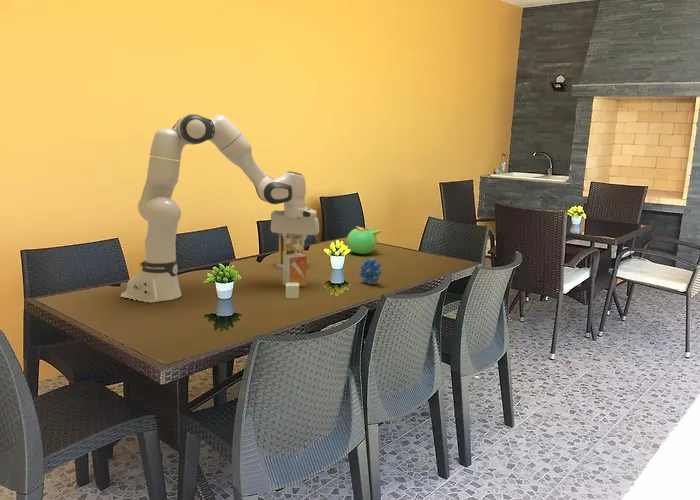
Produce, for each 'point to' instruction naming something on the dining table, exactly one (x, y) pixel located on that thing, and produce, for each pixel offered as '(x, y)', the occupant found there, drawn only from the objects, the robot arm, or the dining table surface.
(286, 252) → the lantern
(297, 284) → the sage cube
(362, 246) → the green round piece
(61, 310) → the dining table surface
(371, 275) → the grapes
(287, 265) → the small box
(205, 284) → the dining table surface
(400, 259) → the dining table surface
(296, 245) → the beech cube
